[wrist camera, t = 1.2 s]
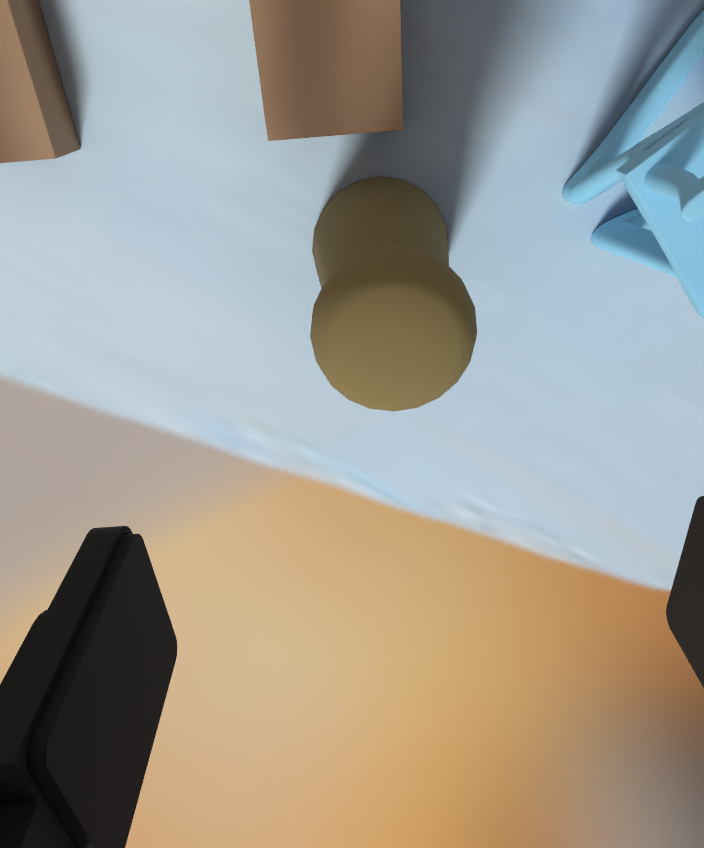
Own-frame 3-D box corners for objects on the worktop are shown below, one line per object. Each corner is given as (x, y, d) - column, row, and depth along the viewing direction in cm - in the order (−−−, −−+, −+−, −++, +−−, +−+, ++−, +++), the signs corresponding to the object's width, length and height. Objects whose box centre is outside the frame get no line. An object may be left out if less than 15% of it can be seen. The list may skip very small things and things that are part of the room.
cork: (291, 205, 26) (259, 294, 17) (427, 154, 25) (473, 218, 16) (339, 329, 29) (335, 463, 20) (462, 288, 28) (519, 408, 19)
